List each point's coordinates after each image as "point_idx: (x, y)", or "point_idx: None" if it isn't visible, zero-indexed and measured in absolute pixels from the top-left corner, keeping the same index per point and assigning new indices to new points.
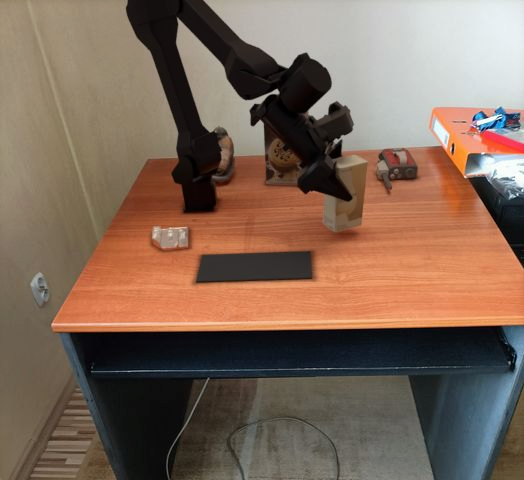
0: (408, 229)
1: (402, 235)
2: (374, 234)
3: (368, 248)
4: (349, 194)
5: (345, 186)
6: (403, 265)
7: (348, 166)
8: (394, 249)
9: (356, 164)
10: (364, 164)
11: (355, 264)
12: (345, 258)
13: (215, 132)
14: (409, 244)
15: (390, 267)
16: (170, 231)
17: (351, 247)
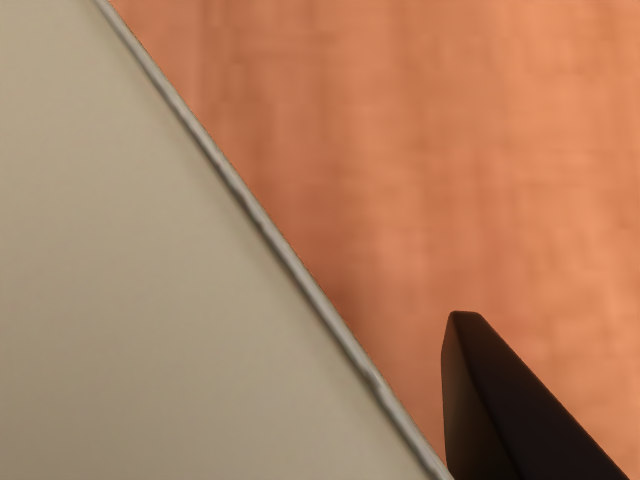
0: (224, 23)
1: (288, 53)
2: (279, 190)
3: (437, 223)
4: (514, 357)
5: (528, 439)
6: (596, 58)
7: (408, 478)
8: (438, 94)
9: (229, 203)
10: (117, 15)
11: (620, 294)
12: (561, 350)
13: None
14: (382, 24)
15: (625, 118)
16: None
17: (432, 316)
